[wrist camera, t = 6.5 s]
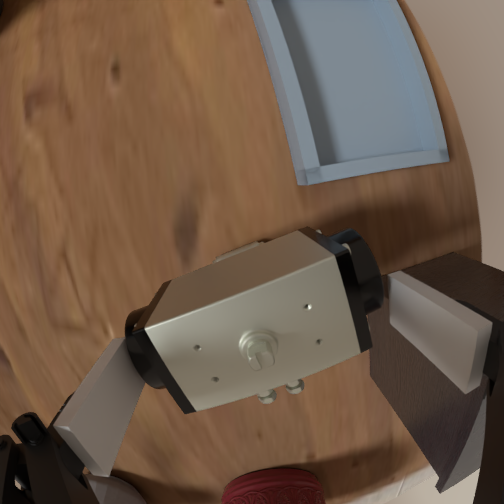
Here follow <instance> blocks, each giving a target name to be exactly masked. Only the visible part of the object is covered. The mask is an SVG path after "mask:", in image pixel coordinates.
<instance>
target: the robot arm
mask: <svg viewBox="0 0 504 504" xmlns="http://www.w3.org/2000/svg"><path fill="white" fill-rule="evenodd" d="M2 8H3V0H0V15H1V12H2ZM387 279H388V293H389V311H390V324H391V325H392V326H393V327H394V328H396V329H397V330H398V331H399V332H400V333H401V334H402V335H403V336H404V337H405V338H407V339H408V340H409V341H410V342H411V343H412V344H413V345H414V346H415V347H416V348H417V349H418V350H420V351H421V352H422V353H423V354H424V355H425V356H426V357H427V358H428V359H429V360H430V361H431V362H432V363H433V364H434V365H435V366H437V367H438V368H439V369H440V370H441V371H442V372H443V373H444V374H445V375H446V376H447V377H448V378H449V379H450V380H451V381H452V382H453V383H454V384H455V385H456V386H457V387H458V388H459V389H460V390H461V391H462V392H463V393H464V394H467V393H469V392H470V391H472V390H473V389H475V388H476V387H478V386H480V382H481V378H482V374H483V373H484V374H485V375H486V376H488V381H487V385H486V388H485V392H484V395H483V398H482V399H485V397H486V395H487V397H486V422H485V434H484V444H483V452H482V460H481V466H480V472H479V478H478V483H477V488H476V492H475V497H474V501H473V504H504V321H503V322H501V321H500V320H498V319H496V318H494V317H493V316H491V315H489V314H487V313H486V312H484V311H481V310H480V309H479V308H477V307H476V308H475V306H473V305H471V304H470V303H468V302H465V301H461V300H457V299H456V300H453V299H451V298H449V297H448V296H446V295H444V294H442V293H440V292H439V291H437V290H435V289H433V288H431V287H430V286H428V285H426V284H424V283H422V282H420V281H418V280H417V279H415V278H413V277H411V276H409V275H407V274H405V273H403V272H402V271H397V272H394V273H391V274H387ZM144 385H145V381H144V380H143V379H142V378H141V376H140V375H139V374H138V372H137V370H136V369H135V367H134V365H133V363H132V361H131V358H130V356H129V353H128V349H127V345H126V340H125V337H123V338H117V339H113V340H112V341H111V342H110V344H109V345H108V346H107V348H106V349H105V351H104V352H103V353H102V355H101V356H100V357H99V359H98V360H97V362H96V363H95V364H94V366H93V367H92V369H91V370H90V371H89V373H88V374H87V376H86V377H85V378H84V380H83V381H82V383H81V384H80V386H79V387H78V389H77V390H76V391H75V392H74V393H73V394H71V395H70V396H69V397H68V398H67V400H66V401H65V403H64V404H63V405H64V406H62V407H61V409H60V410H59V411H60V412H58V413H57V414H56V416H55V417H54V419H53V420H52V422H51V423H50V425H49V427H48V428H46V427H45V426H44V424H43V423H42V421H41V420H40V419H39V417H38V416H37V414H36V413H33V412H28V413H25V414H23V415H21V416H19V417H18V418H17V419H16V420H15V421H14V422H13V424H12V427H11V429H12V430H13V431H14V433H15V434H16V435H17V437H18V438H19V439H20V441H21V442H22V443H21V444H16V443H15V442H14V441H13V439H12V438H11V437H10V436H9V435H1V436H0V504H100V503H99V501H98V499H97V497H96V495H95V493H94V491H93V489H92V487H91V485H90V483H89V481H88V479H87V477H86V476H85V475H84V474H83V472H82V471H83V469H84V467H86V468H87V469H88V470H89V471H90V472H91V473H92V474H93V475H96V476H104V477H109V476H110V473H111V470H112V467H113V464H114V462H115V459H116V456H117V454H118V451H119V448H120V445H121V443H122V440H123V437H124V435H125V432H126V430H127V427H128V424H129V422H130V419H131V417H132V414H133V412H134V409H135V407H136V404H137V402H138V399H139V397H140V394H141V392H142V389H143V387H144ZM15 480H16V481H17V482H18V483H19V484H20V485H21V490H20V489H18V488H17V487H16V486H15Z"/></svg>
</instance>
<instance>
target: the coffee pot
mask: <svg viewBox="0 0 504 504" xmlns="http://www.w3.org/2000/svg"><path fill="white" fill-rule="evenodd" d="M85 476H86V477H87V479H88V481H89V483H90V485H91V487H92V489H93V491H94V493H95V495H96V497H97V499H98V501H99V503H100V504H147V503H146V501H145V500H144V499H143V498H142V496H141V495H140V494H139V493H138V491H137V490H136V489H135V488H134V487H133V486H132V485H130V484H128V483H127V482H125V481H123V480H121V479H119V478H116V477H114V476H111V475H110V476H109V477H104V476H96V475H93V474H92V473H91V474H85Z"/></svg>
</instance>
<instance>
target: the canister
mask: <svg viewBox="0 0 504 504" xmlns="http://www.w3.org/2000/svg"><path fill="white" fill-rule="evenodd" d="M221 500H222V504H326V502H325V499H324V491H323V488H322V485H321V483H320V482H319V481H318V479H317V477H316V476H315V475H313V474H312V473H310V472H307V471H304V470H299V469H287V468H282V469H269V470H262V471H257V472H253V473H249V474H246V475H243V476H241V477H239V478H237V479H235V480H233V481H231V482H230V483H229V484H228V485H227V486H226V487H225V489H224V492H223V496H222V499H221Z"/></svg>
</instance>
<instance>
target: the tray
mask: <svg viewBox="0 0 504 504" xmlns="http://www.w3.org/2000/svg"><path fill="white" fill-rule="evenodd" d="M247 2H248V5H249V8H250V11H251V14H252V17H253V20H254V23H255V26H256V29H257V32H258V35H259V38H260V42H261V45H262V48H263V52H264V55H265V58H266V62H267V65H268V68H269V72H270V75H271V79H272V83H273V86H274V90H275V93H276V97H277V101H278V105H279V108H280V112H281V116H282V120H283V124H284V128H285V132H286V136H287V140H288V144H289V148H290V152H291V157H292V161H293V165H294V170H295V174H296V178H297V183H298V185H311V184H316V183H321V182H326V181H332V180H337V179H342V178H347V177H353V176H358V175H364V174H370V173H375V172H381V171H387V170H393V169H400V168H406V167H413V166H420V165H426V164H434V163H441V162H449V161H450V160H449V155H448V149H447V144H446V140H445V135H444V130H443V126H442V122H441V118H440V114H439V110H438V106H437V103H436V99H435V96H434V92H433V89H432V86H431V83H430V79H429V76H428V73H427V71H426V68H425V65H424V62H423V59H422V57H421V54H420V51H419V49H418V46H417V44H416V41H415V39H414V37H413V34H412V32H411V30H410V27H409V25H408V23H407V21H406V19H405V16H404V14H403V12H402V10H401V8H400V6H399V4H398V2H397V0H247Z"/></svg>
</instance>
